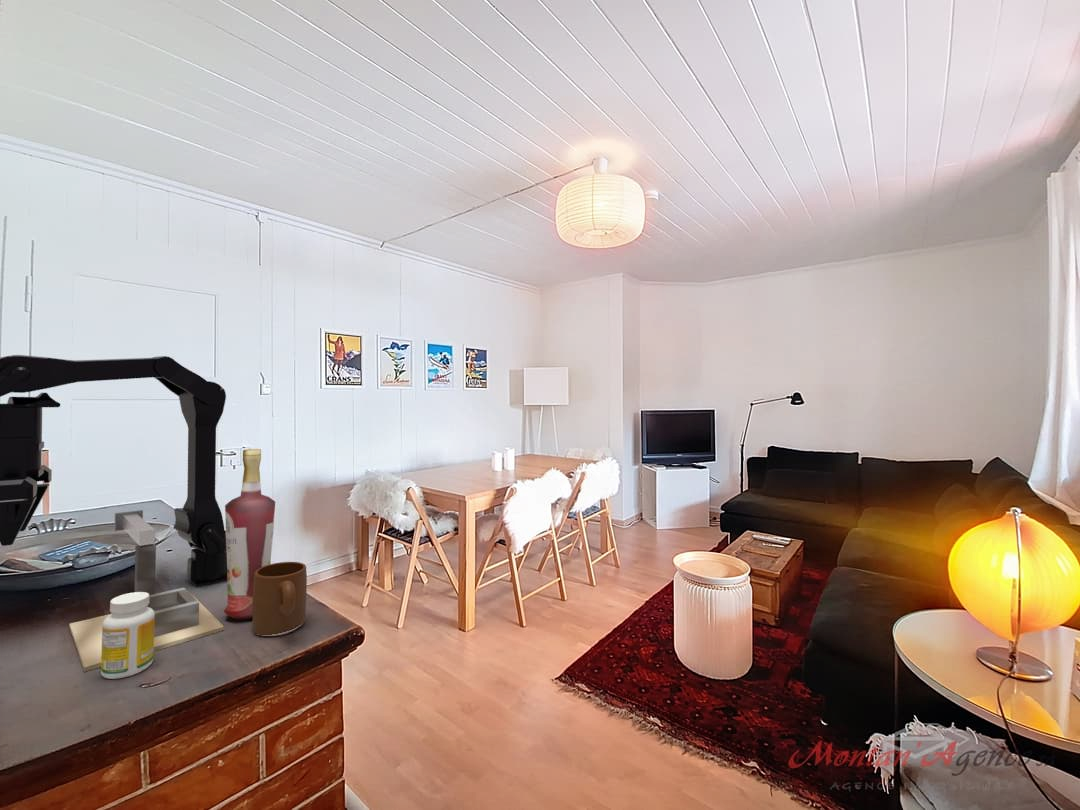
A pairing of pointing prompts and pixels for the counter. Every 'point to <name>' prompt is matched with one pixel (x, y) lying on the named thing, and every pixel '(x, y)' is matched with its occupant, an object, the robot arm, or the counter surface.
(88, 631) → the socket board
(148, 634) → the supplement bottle
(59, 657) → the counter surface
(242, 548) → the liquor
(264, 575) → the mug
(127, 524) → the keeper bolt
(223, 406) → the robot arm
